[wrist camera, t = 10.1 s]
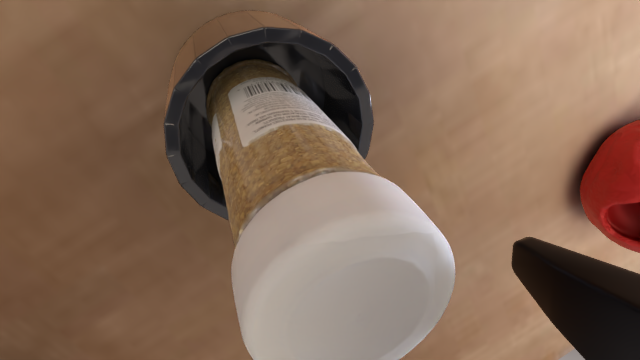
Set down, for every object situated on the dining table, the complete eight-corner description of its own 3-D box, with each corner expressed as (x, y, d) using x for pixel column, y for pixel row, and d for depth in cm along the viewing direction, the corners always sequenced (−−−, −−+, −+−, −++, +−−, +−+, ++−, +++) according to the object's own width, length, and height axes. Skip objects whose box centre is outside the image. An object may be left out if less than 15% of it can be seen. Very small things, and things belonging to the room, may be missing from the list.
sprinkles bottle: (191, 130, 18) (203, 393, 7) (227, 38, 17) (310, 188, 6) (278, 159, 20) (392, 399, 9) (316, 80, 19) (506, 250, 8)
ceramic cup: (204, 186, 21) (210, 250, 16) (140, 35, 16) (123, 64, 12) (341, 142, 22) (383, 190, 17) (313, -9, 18) (358, 1, 13)
